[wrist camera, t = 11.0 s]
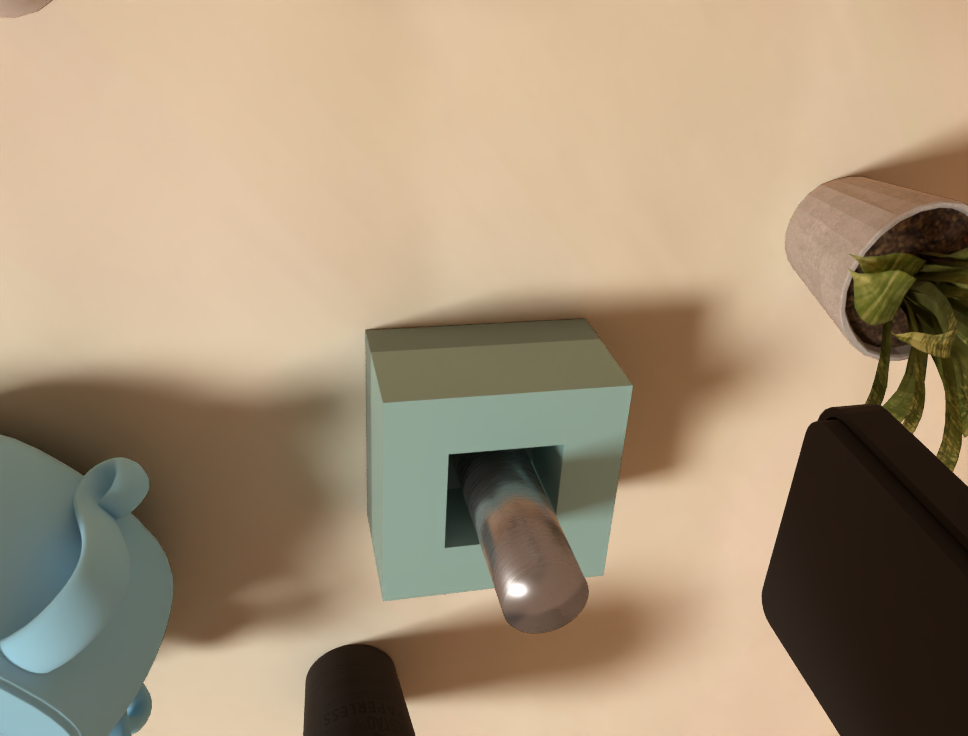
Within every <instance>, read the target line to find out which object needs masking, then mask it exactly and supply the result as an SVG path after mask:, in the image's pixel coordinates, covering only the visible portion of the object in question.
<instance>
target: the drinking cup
mask: <svg viewBox="0 0 968 736" xmlns="http://www.w3.org/2000/svg"><path fill="white" fill-rule="evenodd" d="M303 736H415V732H414V729H413V726H412V722H411V719H410V716H409V712H408V709H407V706H406V703H405V699H404V696H403V693H402V689H401V686H400V683H399V679H398V676H397V673H396V669H395V666H394V663H393V661H392V660H391V658H390V657H389V656H388V655H387V654H386V653H385V652H383V651H381V650H379V649H377V648H375V647H371V646H366V645H350V646H344V647H340V648H337V649H334V650H332V651H330V652H328V653H326V654H325V655H323V656H322V657H320V658H319V659H318V660H317V661H316V662H315V663H314V664H313V665H312V666H311V668H310V670H309V672H308V674H307V677H306V686H305V709H304V731H303Z"/></svg>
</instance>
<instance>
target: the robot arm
mask: <svg viewBox="0 0 968 736" xmlns="http://www.w3.org/2000/svg"><path fill="white" fill-rule="evenodd" d="M762 605H763V610H764V613H765V616H766V618H767V620H768V622H769V624H770V626H771V627H772V629H773V630H774V632H775V634H776V635H777V637H778V638H779V640H780V641H781V643H782V645H783V646H784V648H785V649H786V651H787V652H788V654H789V656H790V657H791V659H792V660H793V662H794V663H795V665H796V667H797V668H798V670H799V671H800V673H801V675H802V676H803V678H804V679H805V681H806V682H807V684H808V686H809V687H810V689H811V690H812V692H813V693H814V695H815V697H816V698H817V700H818V701H819V703H820V704H821V706H822V708H823V709H824V711H825V712H826V714H827V715H828V717H829V719H830V720H831V722H832V723H833V725H834V726H835V728H836V730H837V731H838V733H839V734H840V736H968V486H967V485H966V484H964V483H963V482H962V481H961V480H960V479H959V478H958V477H957V476H956V475H955V474H954V473H953V472H952V471H951V470H950V469H949V468H948V467H947V466H946V465H944V464H943V463H942V462H941V461H940V460H939V459H938V458H937V457H936V456H935V455H934V454H933V453H932V452H931V451H930V450H929V449H928V448H927V447H925V446H924V445H923V444H922V443H921V442H920V441H919V440H918V439H917V438H916V437H915V436H914V435H913V434H912V433H911V432H910V431H909V430H908V429H907V428H905V427H904V426H903V425H902V424H901V423H900V422H899V421H898V420H897V419H896V418H895V417H894V416H893V415H892V414H891V413H890V412H889V411H888V410H886V409H885V408H883V407H882V406H880V405H878V404H863V405H852V406H841V407H831V408H828V409H826V410H824V411H823V413H822V414H821V415H820V417H819V419H818V421H816V422H813V423H811V425H810V426H809V427H808V429H807V431H806V434H805V437H804V441H803V445H802V448H801V452H800V455H799V459H798V463H797V466H796V470H795V473H794V477H793V481H792V484H791V488H790V492H789V495H788V499H787V502H786V506H785V510H784V513H783V517H782V521H781V524H780V528H779V531H778V535H777V539H776V542H775V546H774V549H773V553H772V557H771V560H770V564H769V568H768V571H767V575H766V578H765V582H764V586H763V590H762Z"/></svg>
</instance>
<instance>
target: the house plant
mask: <svg viewBox="0 0 968 736" xmlns="http://www.w3.org/2000/svg"><path fill="white" fill-rule="evenodd" d="M785 249H786V253H787V258H788V260H789V262H790V264H791V265H792V267H793V269H794V270H795V271H796V273H797V274H798V275H799V277H800V278H801V279H802V281H803V282H804V283H805V285H806V286H807V287H808V289H809V290H810V291H811V293H812V294H813V295H814V296H815V298H816V299H817V300H818V302H819V303H820V304H821V306H822V307H823V308H824V310H825V311H826V312H827V314H828V315H829V316H830V318H831V319H832V320H833V322H834V323H835V324H836V326H837V327H838V328H839V329H840V331H841V332H842V333H843V335H844V336H845V337H846V339H847V340H848V341H849V343H850V344H851V345H852V346H853V347H855V348H856V349H857V350H858V351H860V352H861V353H862V354H863V355H866V356H869V357H872V358H875V359H878V360H879V363H878V367H877V371H876V375H875V379H874V383H873V386H872V389H871V392H870V394H869V397H868V399H867V401H866V403H865V404H878V405H880V406H881V403H882V401H883V398H884V395H885V391H886V388H887V382H888V370H889V362H890V361H901V360H905V359H908V363H907V367H906V372H905V375H904V377H903V379H902V381H901V383H900V385H899V387H898V390H897V391H896V392H895V393H894V394H893V396H892V397H891V398H890V399H889V400H888V401H887V402H886V403H885V404H884V405H883V406H882V407H883V408H885V409H886V410H888V411H889V412H890V413H891V414H892V415H893V416H894V417H895V418H896V419H897V420H898V421H899V422H900V423H901V422H902V421H903V420H904V419H905V420H904V422H903V424H902V425H903V426H904V427H905V428H907V429H908V430H909V431H910V432H911V433H912V434H913V433H914V431H915V430H916V428H917V426H918V423H919V421H920V419H921V417H922V413H923V409H924V402H925V383H924V381H925V376H926V367H927V358H928V354H930V355H931V356H932V358H933V360H934V362H935V364H936V367H937V369H938V372H939V374H940V377H941V379H942V382H943V385H944V390H945V398H946V414H945V427H944V433H943V440H942V443H941V446H940V448H939V451H938V454H937V458H938V459H939V460H940V461H941V462H942V463H943V464H944V465H946V466H947V467H948V468H949V469H950V470H951V471H952V472H953V470H954V468H955V466H956V463H957V461H958V457H959V453H960V449H961V444H962V434H963V436H964V437H967V436H968V346H967V345H968V204H965V203H963V202H959V201H956V200H952V199H948V198H944V197H940V196H936V195H932V194H928V193H924V192H920V191H916V190H913V189H909V188H905V187H901V186H897V185H893V184H889V183H885V182H881V181H877V180H873V179H869V178H866V177H862V176H861V177H846V178H841V179H836V180H833V181H830V182H827V183H824V184H822V185H820V186H819V187H817V188H816V189H815V190H813V191H812V192H811V193H810V194H808V195H807V197H806V198H805V199H804V200H803V201H802V202H801V203H800V205H799V206H798V207H797V209H796V211H795V213H794V214H793V216H792V218H791V220H790V223H789V226H788V229H787V232H786V242H785ZM964 437H963V438H964Z"/></svg>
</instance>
